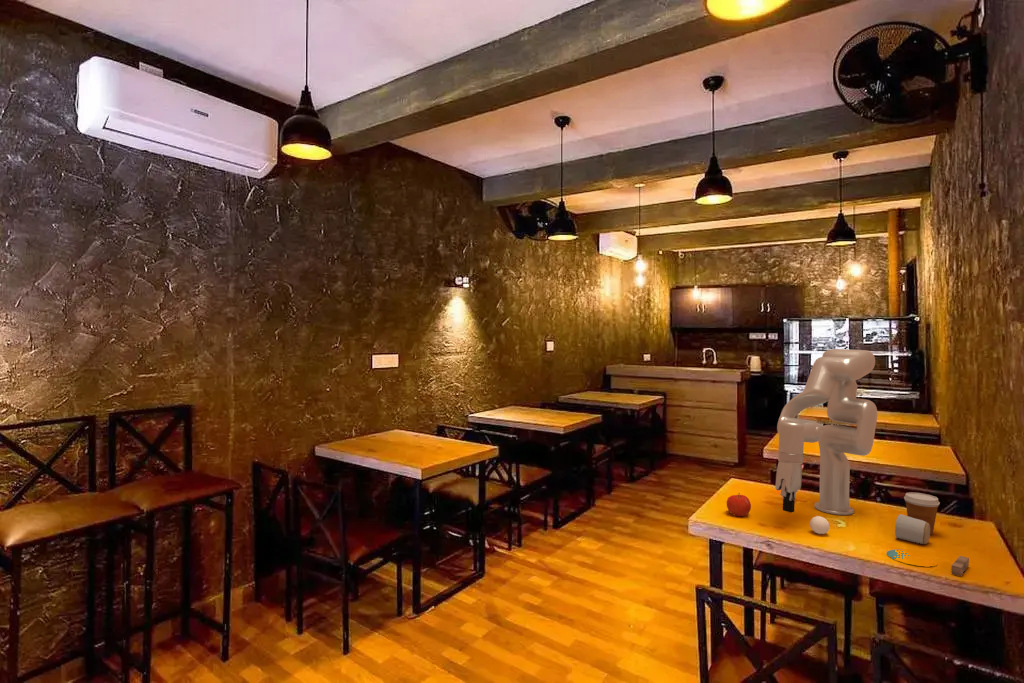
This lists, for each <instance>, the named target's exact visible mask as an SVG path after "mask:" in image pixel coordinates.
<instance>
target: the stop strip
mask: <svg viewBox="0 0 1024 683" xmlns="http://www.w3.org/2000/svg"><path fill="white" fill-rule="evenodd" d="M969 562H970V558H969V557H966V556H963V555H959V556H958V557H957V558H956V559H955V561H954V562H953V563H952V564H951V570H950V573H952V574H955V575H954V576H956V575H959V576H961V575H962V574H963V575H964V573H965V572H966V571H967V569H968V568H969V567H968V566H970V563H969ZM967 567H968V568H967ZM966 568H967V569H966ZM965 570H966V571H965ZM964 571H965V572H964ZM963 572H964V573H963ZM952 574H951V575H952ZM963 575H962V576H963ZM959 576H958V577H959ZM962 576H961V577H962Z"/></svg>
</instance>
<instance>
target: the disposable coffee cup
mask: <svg viewBox="0 0 1024 683" xmlns="http://www.w3.org/2000/svg"><path fill="white" fill-rule="evenodd" d="M903 499H904V501H905V507H906V516H909V517H912V518H915V519H919V520H923V521H925V522H927V523H929V525H930V536H933V535H934V530H935V523H936V517H937V513H938V508H939V506H940V503H941V502H940V501H939V498H938V497H937V496H934V495H931V494H929V493H928V494H926V493H921V492H906V493H905V496H903ZM932 534H933V535H932Z"/></svg>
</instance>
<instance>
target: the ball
mask: <svg viewBox="0 0 1024 683" xmlns="http://www.w3.org/2000/svg"><path fill="white" fill-rule="evenodd" d="M809 525H810V526H809V527H810V529H811V530H812V532H814V533H815V534H817V535H825V534H827V533H828V532H829V531H830V523H829V521H828V520H827V519H826V518H825V517H823V516H819V515H816V516H814V517H812V518H811V519H810V521H809Z"/></svg>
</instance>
